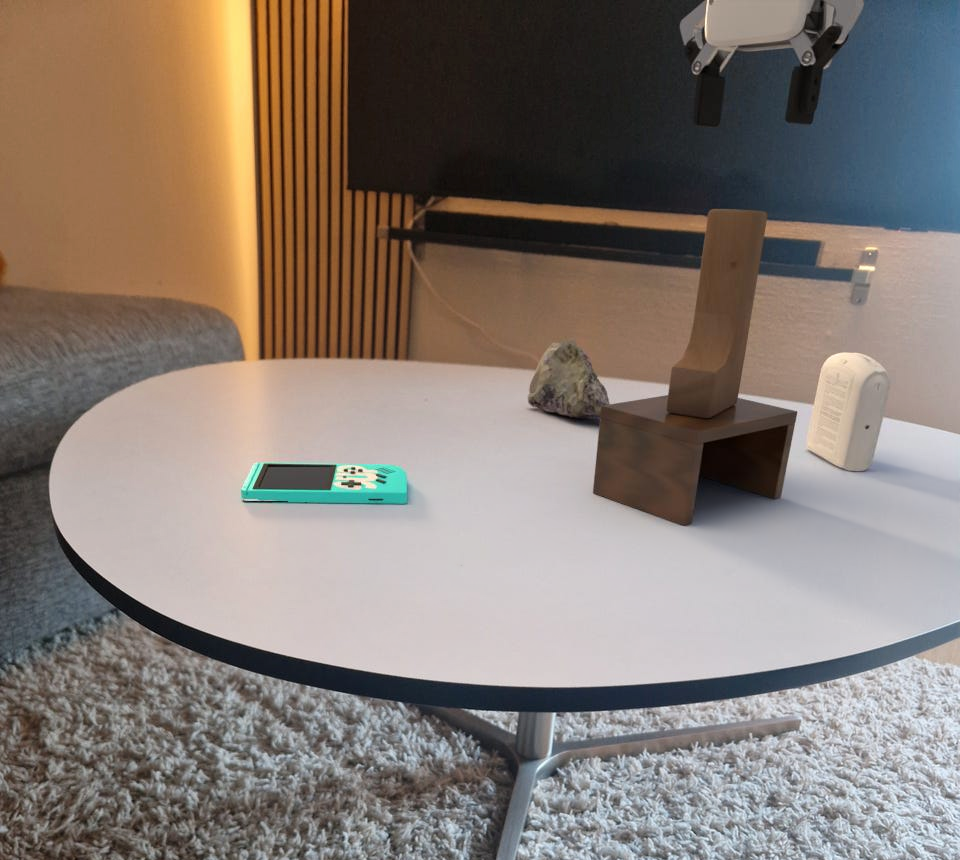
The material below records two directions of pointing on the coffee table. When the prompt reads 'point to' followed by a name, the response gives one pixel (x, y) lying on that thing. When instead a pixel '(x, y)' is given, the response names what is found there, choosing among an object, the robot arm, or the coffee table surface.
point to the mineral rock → (567, 383)
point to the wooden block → (719, 315)
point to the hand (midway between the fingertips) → (750, 124)
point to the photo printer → (848, 410)
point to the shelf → (689, 453)
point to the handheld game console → (326, 483)
